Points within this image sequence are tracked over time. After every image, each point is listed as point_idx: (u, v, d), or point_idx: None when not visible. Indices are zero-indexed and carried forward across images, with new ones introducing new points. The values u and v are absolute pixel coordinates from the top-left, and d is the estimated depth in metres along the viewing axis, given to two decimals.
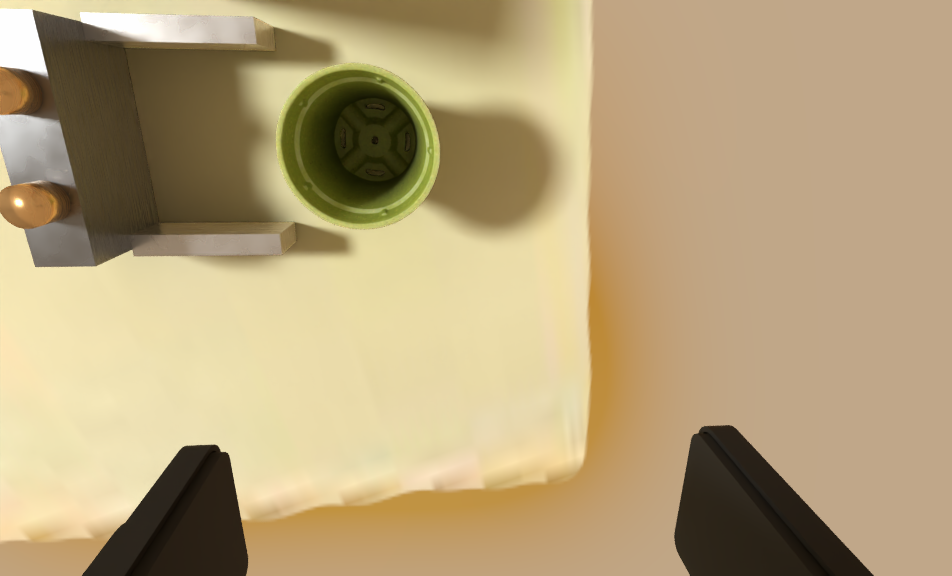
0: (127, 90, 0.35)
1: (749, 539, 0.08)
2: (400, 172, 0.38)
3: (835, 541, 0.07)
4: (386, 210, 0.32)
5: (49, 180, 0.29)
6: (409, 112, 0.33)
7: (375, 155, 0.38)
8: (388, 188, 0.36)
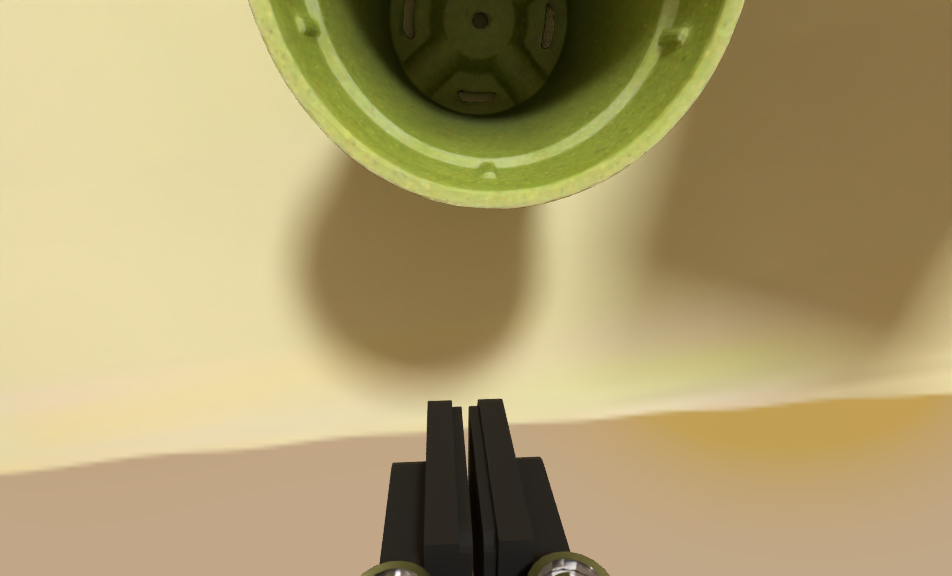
0: None
1: (475, 496, 0.09)
2: (411, 77, 0.17)
3: (517, 493, 0.08)
4: (315, 34, 0.11)
5: None
6: (556, 109, 0.14)
7: (448, 19, 0.17)
8: (376, 45, 0.15)
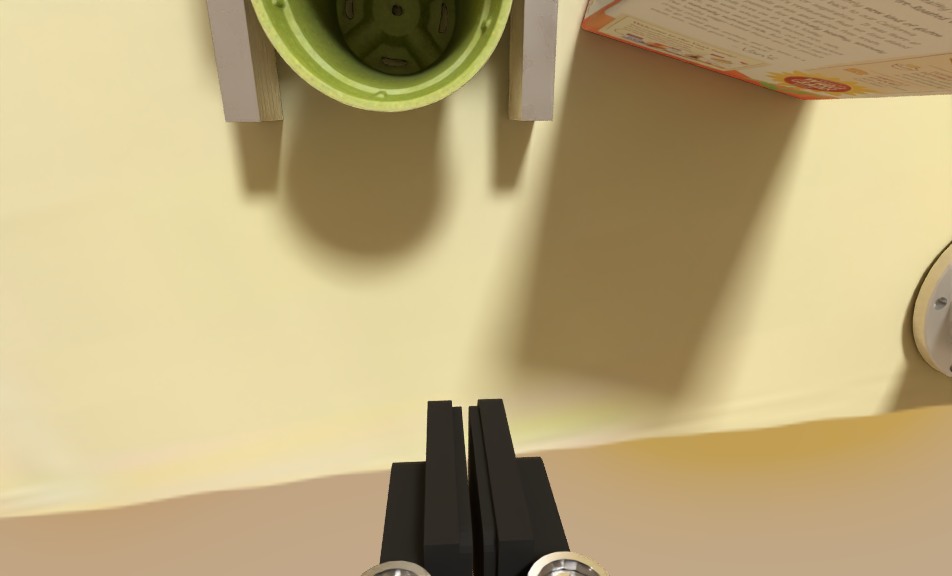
0: None
1: (475, 497, 0.09)
2: (350, 44, 0.25)
3: (517, 493, 0.08)
4: (282, 6, 0.19)
5: None
6: (436, 68, 0.23)
7: (376, 7, 0.25)
8: (323, 20, 0.23)
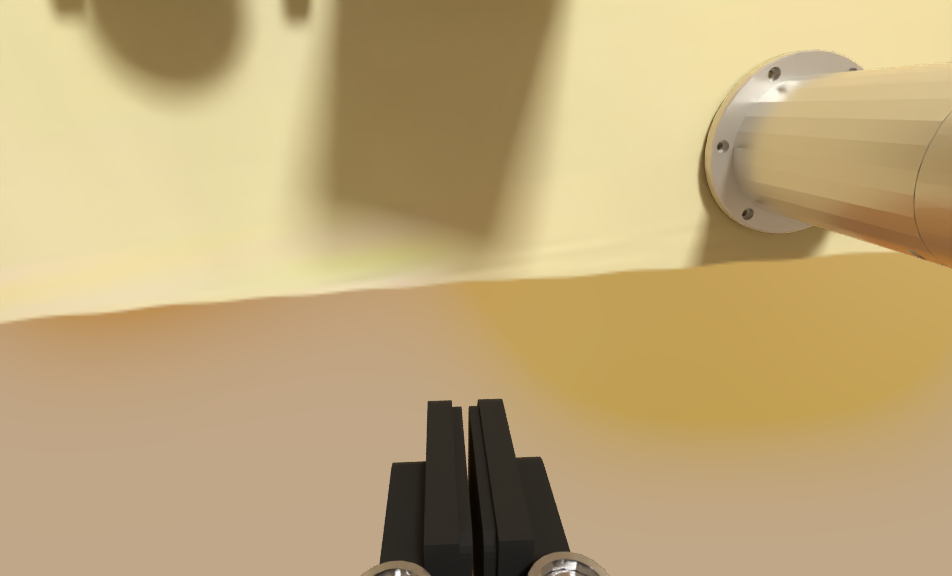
0: None
1: (475, 496, 0.09)
2: None
3: (517, 493, 0.08)
4: None
5: None
6: None
7: None
8: None
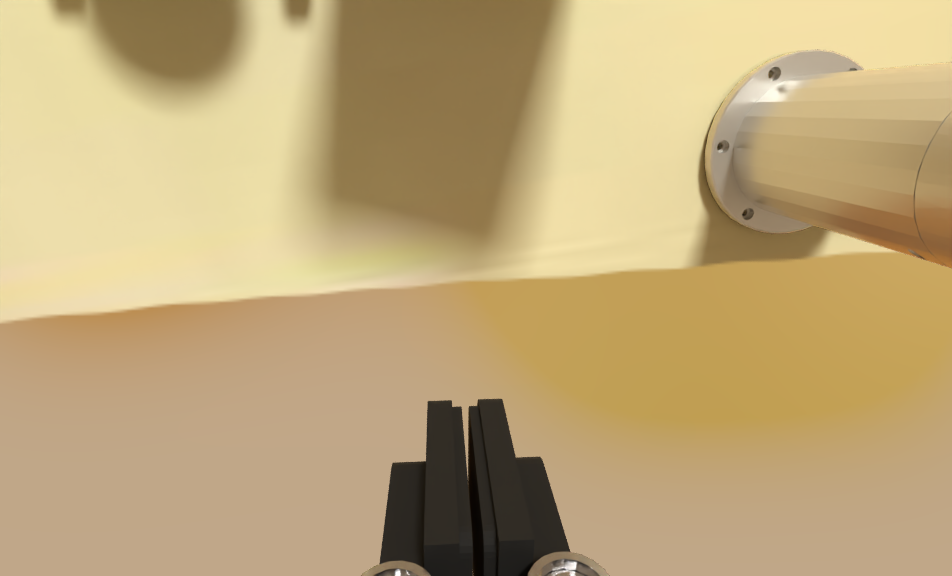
0: None
1: (475, 497, 0.09)
2: None
3: (518, 493, 0.08)
4: None
5: None
6: None
7: None
8: None
